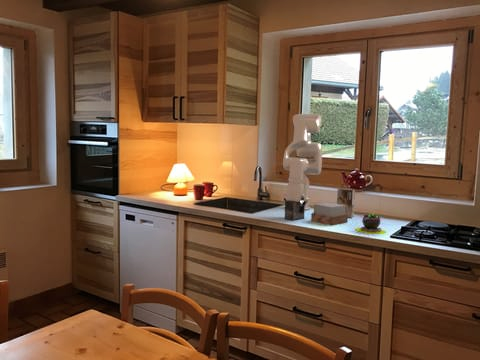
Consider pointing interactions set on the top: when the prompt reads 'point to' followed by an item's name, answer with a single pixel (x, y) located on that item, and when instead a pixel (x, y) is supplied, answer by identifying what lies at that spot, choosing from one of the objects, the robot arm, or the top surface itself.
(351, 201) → the coffee box
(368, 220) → the toy cauldron
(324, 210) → the tower top
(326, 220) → the tower base
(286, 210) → the small box
